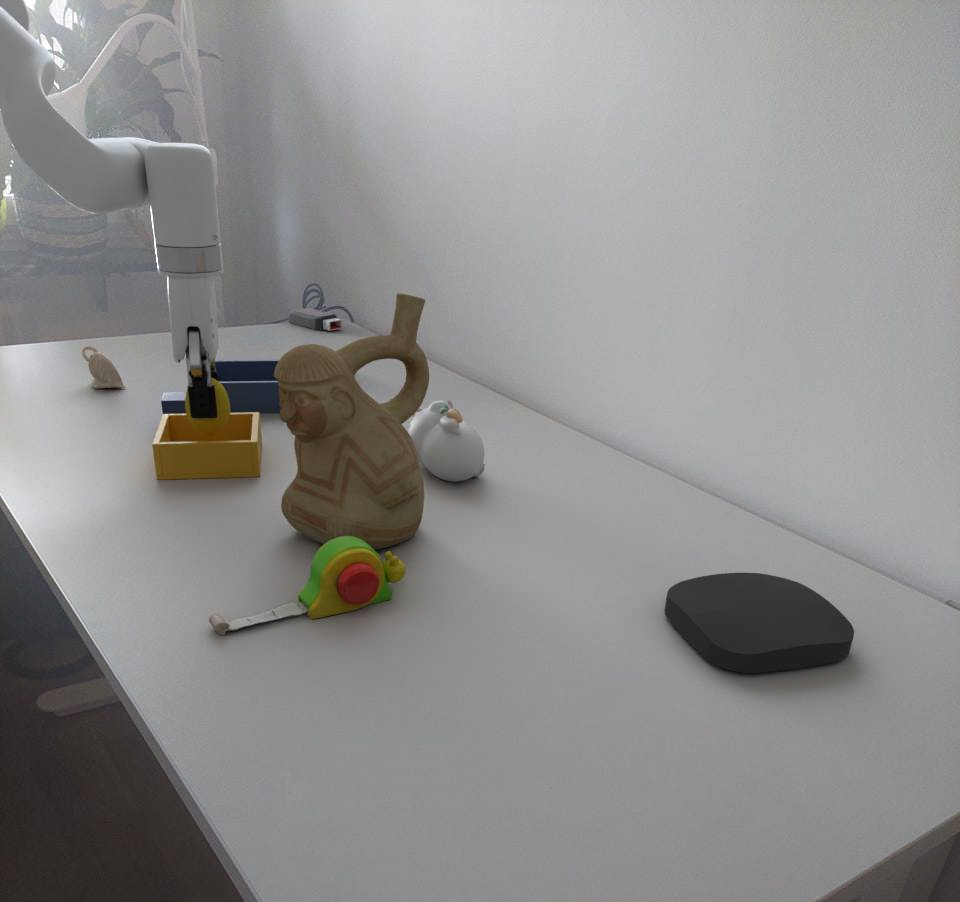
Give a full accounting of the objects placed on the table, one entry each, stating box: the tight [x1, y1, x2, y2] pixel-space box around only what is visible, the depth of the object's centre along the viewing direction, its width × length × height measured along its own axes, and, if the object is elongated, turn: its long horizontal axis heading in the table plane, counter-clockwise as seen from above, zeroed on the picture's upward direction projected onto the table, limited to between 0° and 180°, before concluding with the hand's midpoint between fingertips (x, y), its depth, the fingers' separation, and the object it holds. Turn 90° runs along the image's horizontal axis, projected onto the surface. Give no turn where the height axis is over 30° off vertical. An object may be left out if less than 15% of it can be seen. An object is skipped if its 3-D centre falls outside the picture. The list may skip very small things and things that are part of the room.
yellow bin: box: [151, 412, 263, 481], centre depth 126 cm, size 13×13×5 cm
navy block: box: [160, 391, 187, 415], centre depth 138 cm, size 4×4×4 cm
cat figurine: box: [407, 399, 486, 483], centre depth 125 cm, size 10×8×15 cm
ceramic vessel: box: [274, 292, 430, 551], centre depth 102 cm, size 17×20×25 cm
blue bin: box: [212, 359, 281, 414], centre depth 150 cm, size 14×14×5 cm
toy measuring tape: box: [208, 536, 407, 636], centre depth 91 cm, size 6×19×7 cm, turn 120°
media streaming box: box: [664, 572, 855, 674], centre depth 91 cm, size 15×15×3 cm
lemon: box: [185, 378, 230, 437], centre depth 123 cm, size 6×6×8 cm
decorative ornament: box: [81, 346, 126, 390], centre depth 155 cm, size 4×8×5 cm, turn 37°
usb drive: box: [288, 307, 343, 332], centre depth 198 cm, size 5×12×3 cm, turn 47°
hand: (206, 408), depth 123 cm, fingers closed on lemon, 5 cm apart
